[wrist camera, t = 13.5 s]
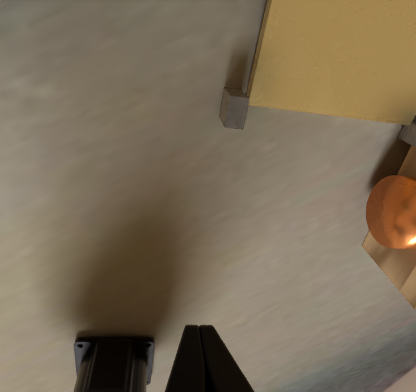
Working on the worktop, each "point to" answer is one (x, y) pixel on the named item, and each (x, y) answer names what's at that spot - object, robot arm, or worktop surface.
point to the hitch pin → (393, 212)
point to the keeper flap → (338, 59)
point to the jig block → (397, 258)
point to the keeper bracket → (238, 104)
